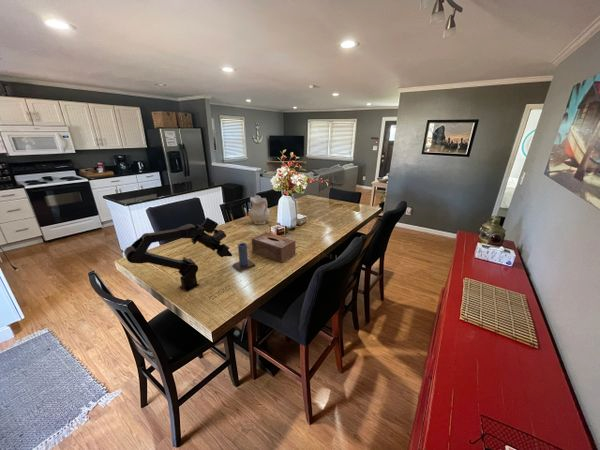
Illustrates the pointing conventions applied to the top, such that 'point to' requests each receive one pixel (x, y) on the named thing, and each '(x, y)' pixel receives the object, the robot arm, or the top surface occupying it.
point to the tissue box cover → (273, 246)
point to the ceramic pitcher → (259, 210)
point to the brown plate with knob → (241, 268)
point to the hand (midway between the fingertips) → (228, 252)
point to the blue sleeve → (243, 254)
